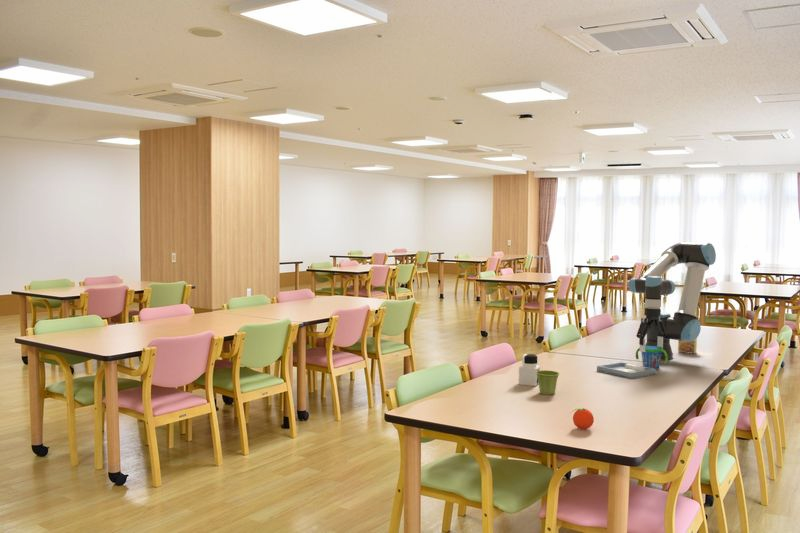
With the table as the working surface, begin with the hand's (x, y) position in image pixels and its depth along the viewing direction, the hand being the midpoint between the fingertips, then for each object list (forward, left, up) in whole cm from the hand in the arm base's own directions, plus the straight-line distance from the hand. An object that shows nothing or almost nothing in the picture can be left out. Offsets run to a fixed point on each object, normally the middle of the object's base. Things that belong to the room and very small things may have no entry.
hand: (651, 350), depth 337 cm
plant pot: (+82, +11, -9) cm, 83 cm away
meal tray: (+20, +1, -9) cm, 21 cm away
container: (+76, -6, -9) cm, 76 cm away
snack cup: (0, 0, -9) cm, 9 cm away
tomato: (+109, +54, -9) cm, 122 cm away
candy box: (-54, -17, -9) cm, 58 cm away
